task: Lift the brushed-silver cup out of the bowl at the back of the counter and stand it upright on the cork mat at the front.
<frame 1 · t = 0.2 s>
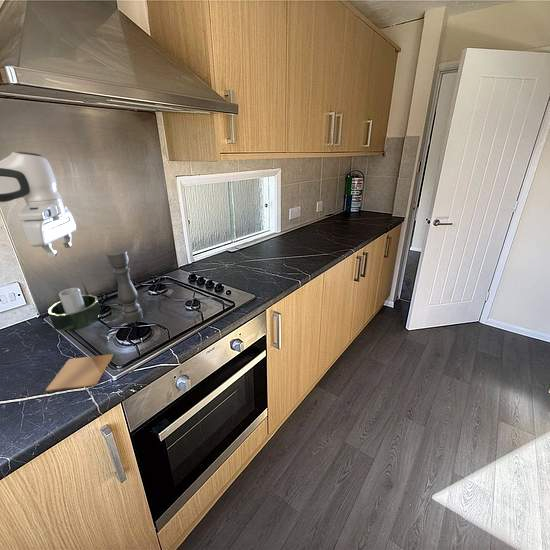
hand: (61, 251, 95), 25 cm above the worktop, tool pointing down, fingers open, 8 cm apart
mat: (82, 372, 79), on the worktop
bowl: (78, 319, 105), on the worktop
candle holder: (134, 319, 104), on the worktop
cup: (74, 305, 103), in the bowl
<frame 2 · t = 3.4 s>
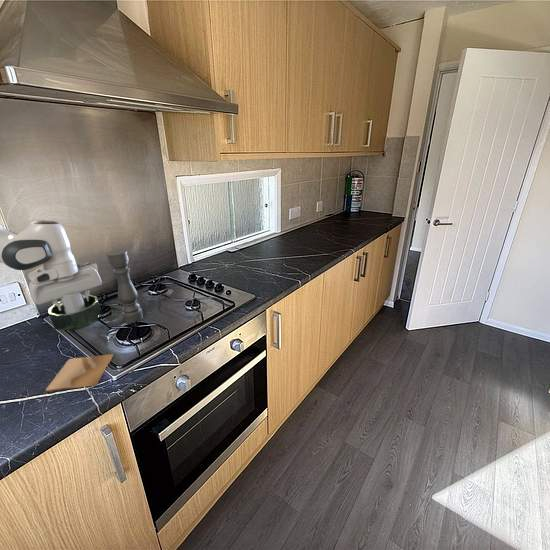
hand: (74, 305, 102), 6 cm above the worktop, tool pointing down, fingers closed on cup, 6 cm apart
cup: (74, 305, 103), in the bowl, touching gripper
everything else where it was.
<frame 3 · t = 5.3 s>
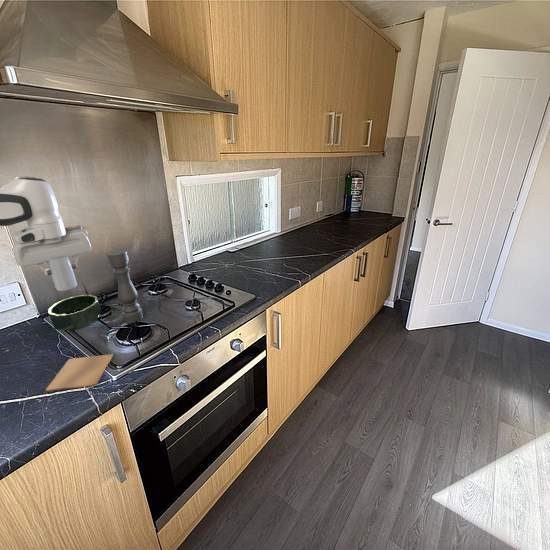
hand: (61, 271, 97), 19 cm above the worktop, tool pointing down, fingers closed on cup, 6 cm apart
cup: (62, 271, 97), point 18 cm above the worktop, touching gripper
everything else where it was.
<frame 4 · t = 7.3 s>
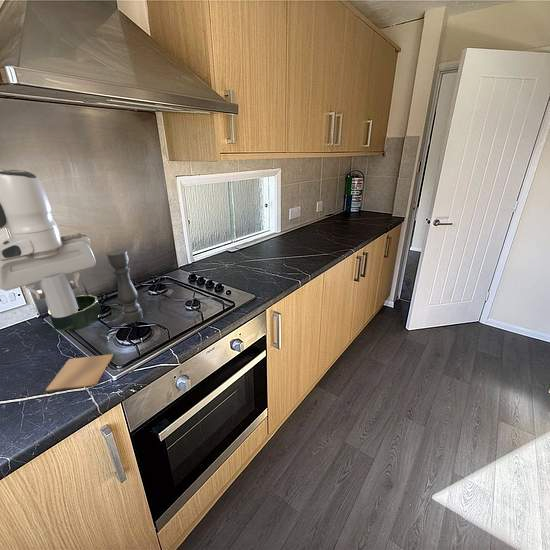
hand: (58, 292, 75), 21 cm above the worktop, tool pointing down, fingers closed on cup, 6 cm apart
cup: (58, 293, 76), point 21 cm above the worktop, touching gripper
everything else where it was.
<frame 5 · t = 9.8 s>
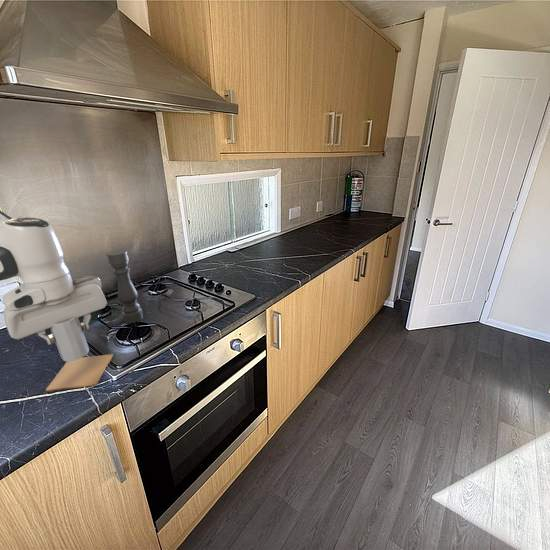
hand: (69, 335, 74), 12 cm above the worktop, tool pointing down, fingers closed on cup, 6 cm apart
cup: (69, 336, 75), point 12 cm above the worktop, touching gripper
everything else where it was.
when the fingers open (6 cm above the worktop, at t = 11.7 s): cup stays where it is, resting on mat.
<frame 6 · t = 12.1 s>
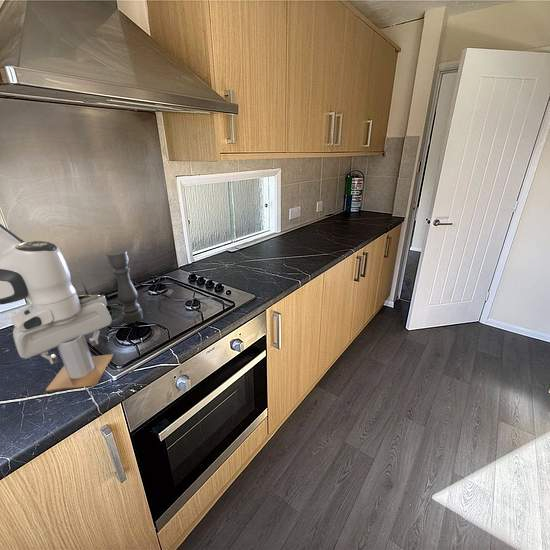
hand: (75, 353, 77), 6 cm above the worktop, tool pointing down, fingers open, 8 cm apart
cup: (75, 354, 77), on the mat
everything else where it was.
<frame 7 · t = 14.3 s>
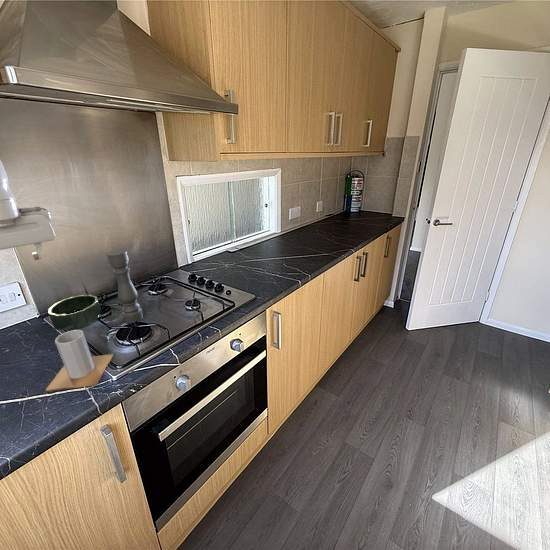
hand: (15, 263, 77), 28 cm above the worktop, tool pointing down, fingers open, 8 cm apart
nothing on the worktop moved.
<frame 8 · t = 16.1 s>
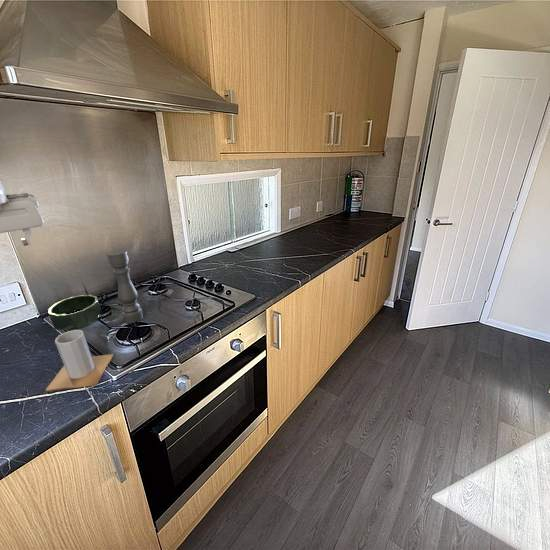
hand: (5, 249, 79), 31 cm above the worktop, tool pointing down, fingers open, 8 cm apart
nothing on the worktop moved.
at the end: cup inside the target area on the mat (0.0 cm from its centre), point 6.0 cm above the mat's base; cup tilted 0°; cup touching mat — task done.
